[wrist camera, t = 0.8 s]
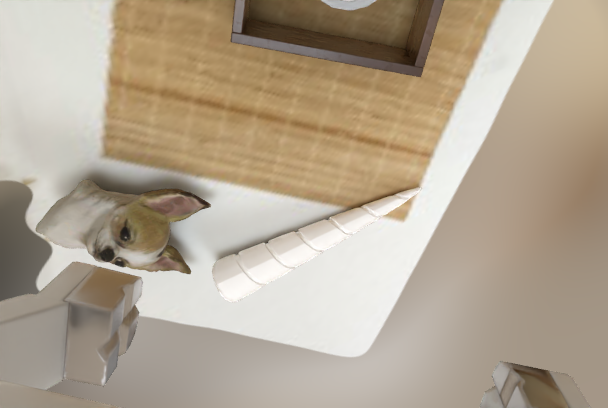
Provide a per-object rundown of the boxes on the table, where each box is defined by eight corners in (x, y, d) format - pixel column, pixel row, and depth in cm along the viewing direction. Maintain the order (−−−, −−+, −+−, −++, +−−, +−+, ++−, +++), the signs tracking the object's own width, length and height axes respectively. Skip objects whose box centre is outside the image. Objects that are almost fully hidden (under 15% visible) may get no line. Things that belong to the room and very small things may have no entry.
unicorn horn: (432, 213, 57) (441, 240, 53) (233, 283, 62) (227, 313, 58) (418, 177, 55) (426, 202, 50) (213, 253, 60) (205, 281, 56)
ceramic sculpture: (32, 192, 46) (206, 234, 49) (65, 145, 53) (215, 184, 56) (24, 283, 51) (181, 316, 54) (55, 229, 58) (192, 260, 61)
